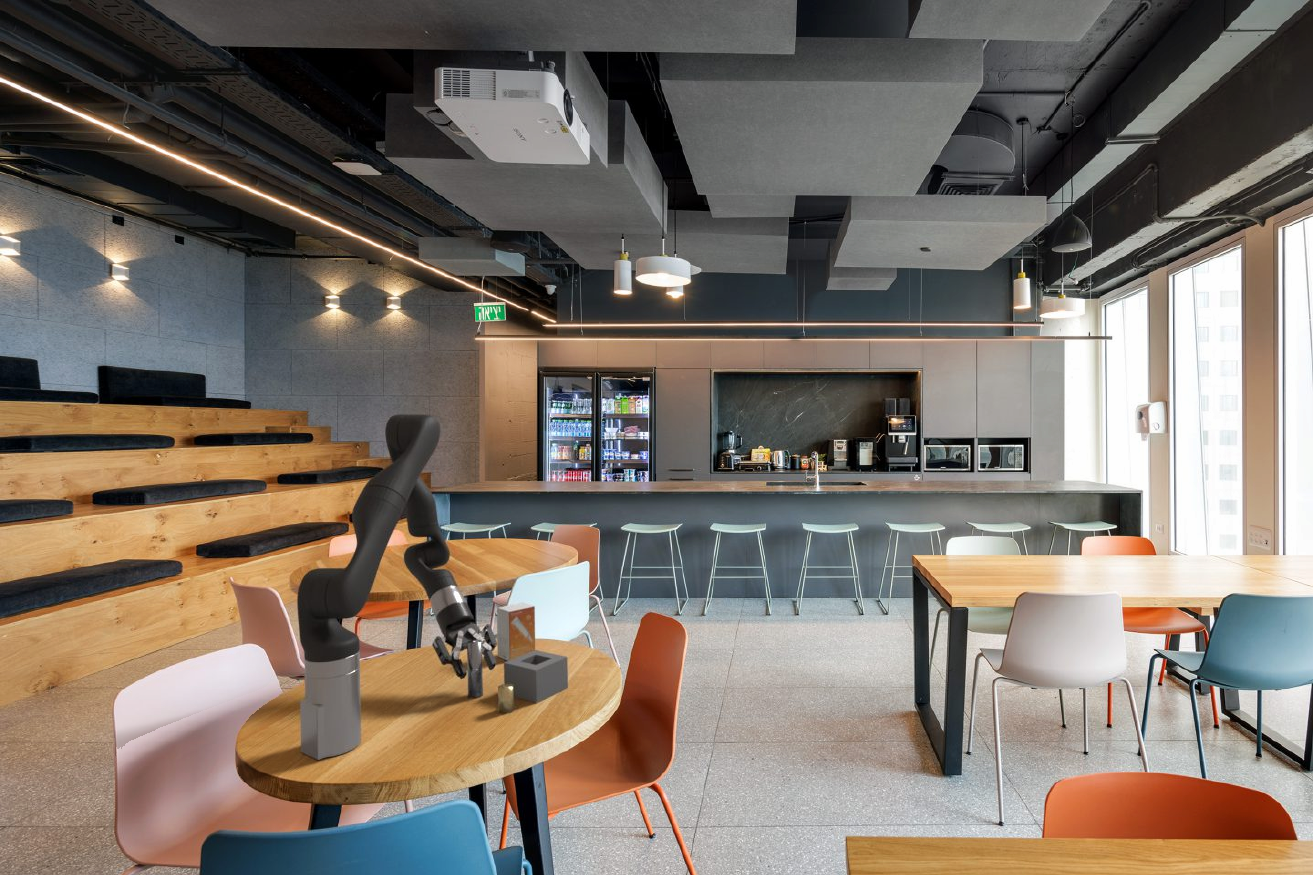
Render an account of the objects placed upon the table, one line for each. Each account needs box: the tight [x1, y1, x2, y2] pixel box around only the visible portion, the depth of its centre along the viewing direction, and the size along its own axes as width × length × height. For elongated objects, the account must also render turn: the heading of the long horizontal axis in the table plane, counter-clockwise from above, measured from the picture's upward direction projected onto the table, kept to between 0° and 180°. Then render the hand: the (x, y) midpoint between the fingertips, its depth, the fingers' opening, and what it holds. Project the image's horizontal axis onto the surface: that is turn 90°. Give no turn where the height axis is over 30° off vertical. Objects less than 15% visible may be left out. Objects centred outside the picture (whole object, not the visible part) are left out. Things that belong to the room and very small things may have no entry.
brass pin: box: [497, 683, 515, 715], centre depth 132 cm, size 3×3×5 cm
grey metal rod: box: [466, 640, 484, 699], centre depth 141 cm, size 3×3×12 cm
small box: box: [496, 602, 536, 662], centre depth 167 cm, size 8×6×13 cm
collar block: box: [503, 649, 569, 704], centre depth 142 cm, size 10×10×7 cm
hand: (478, 672), depth 139 cm, fingers open, 6 cm apart
